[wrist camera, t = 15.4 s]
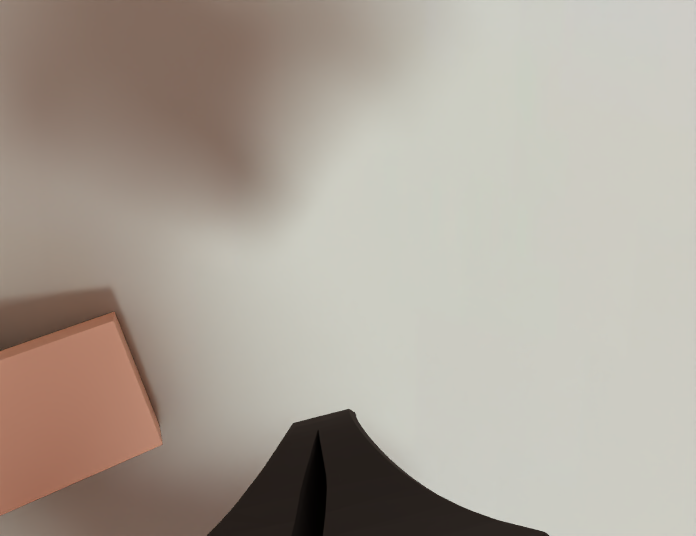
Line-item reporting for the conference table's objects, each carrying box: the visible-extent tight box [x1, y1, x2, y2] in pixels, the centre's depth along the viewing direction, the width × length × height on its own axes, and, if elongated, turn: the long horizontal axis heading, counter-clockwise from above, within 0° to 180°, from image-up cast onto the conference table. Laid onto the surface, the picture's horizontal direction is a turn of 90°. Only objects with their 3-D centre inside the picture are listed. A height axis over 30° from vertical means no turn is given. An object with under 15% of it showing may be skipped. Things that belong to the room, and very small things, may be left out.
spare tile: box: [0, 312, 163, 516], centre depth 19 cm, size 2×5×8 cm
